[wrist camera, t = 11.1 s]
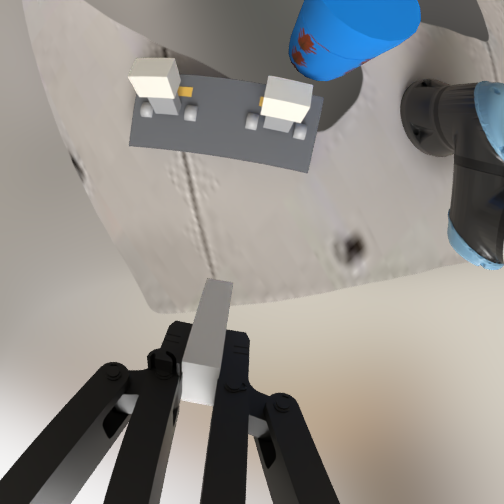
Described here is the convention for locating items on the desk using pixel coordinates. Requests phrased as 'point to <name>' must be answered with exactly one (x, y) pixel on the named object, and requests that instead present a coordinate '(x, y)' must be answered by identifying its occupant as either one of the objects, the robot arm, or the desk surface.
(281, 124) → the inner lever
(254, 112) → the switch box
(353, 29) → the thermos
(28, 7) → the desk surface
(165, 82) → the outer lever
